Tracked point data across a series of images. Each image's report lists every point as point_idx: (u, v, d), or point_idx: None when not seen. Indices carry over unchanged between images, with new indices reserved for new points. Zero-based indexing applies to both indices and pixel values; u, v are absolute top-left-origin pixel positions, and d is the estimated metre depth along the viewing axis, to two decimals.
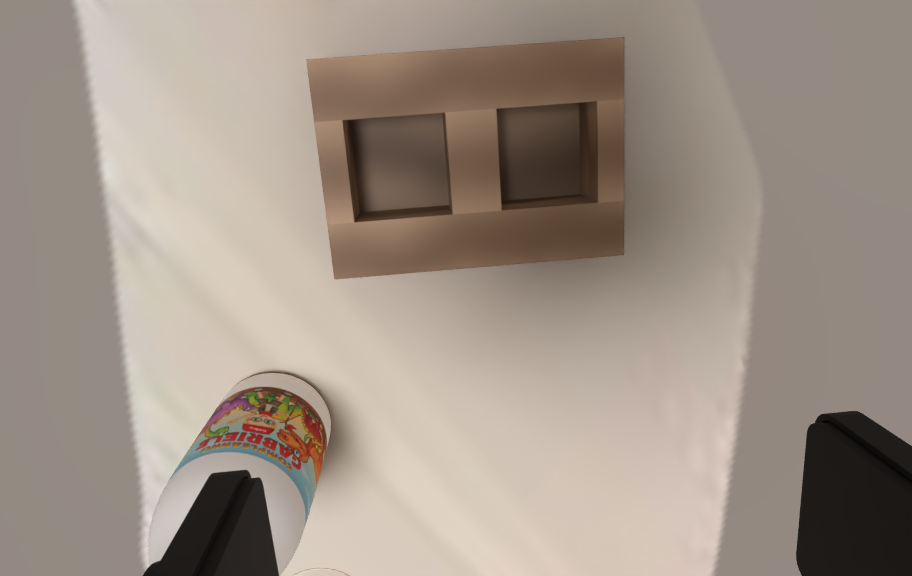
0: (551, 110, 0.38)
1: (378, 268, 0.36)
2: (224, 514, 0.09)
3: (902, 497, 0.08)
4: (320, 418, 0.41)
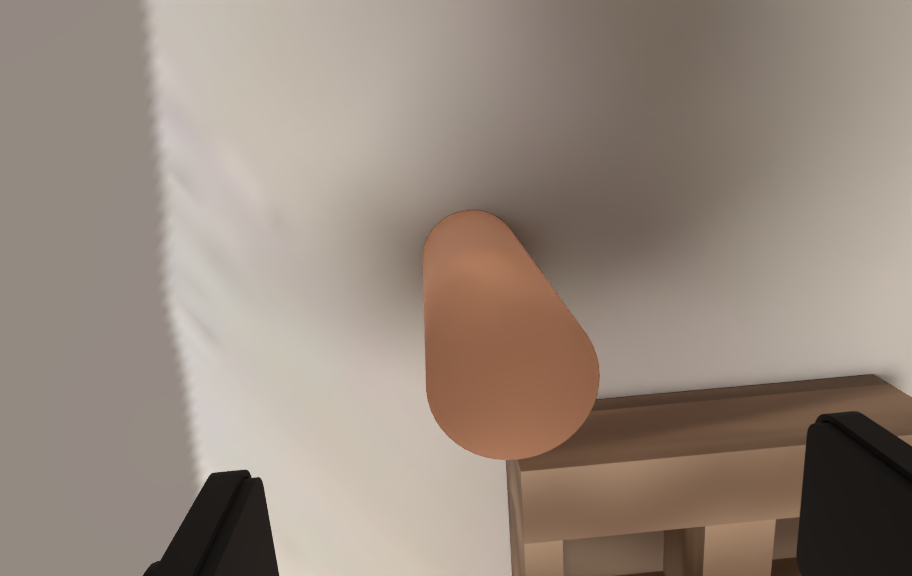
0: None
1: None
2: (224, 514, 0.09)
3: (902, 497, 0.08)
4: None
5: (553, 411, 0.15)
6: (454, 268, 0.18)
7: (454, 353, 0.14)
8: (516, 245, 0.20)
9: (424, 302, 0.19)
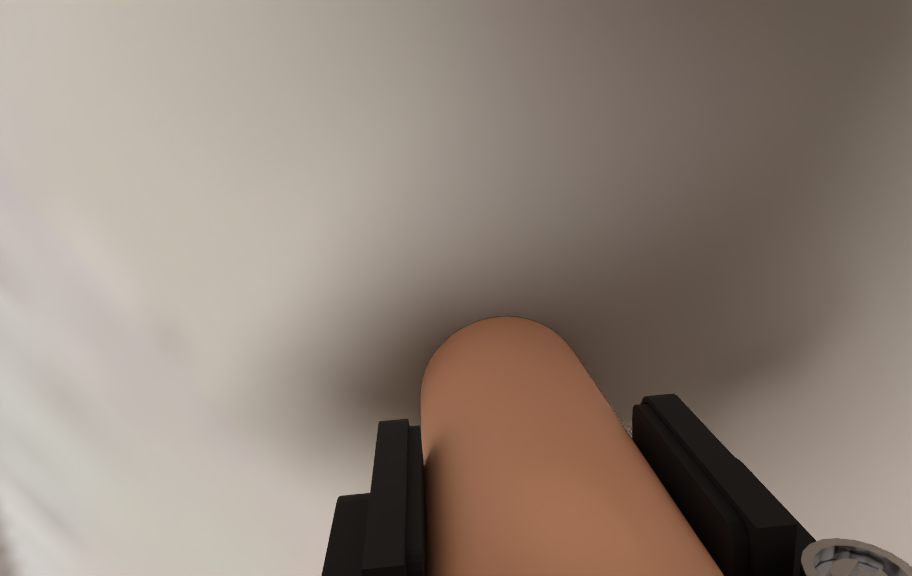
0: None
1: None
2: (406, 452, 0.10)
3: (679, 466, 0.09)
4: None
5: None
6: (501, 563, 0.07)
7: None
8: (617, 437, 0.10)
9: None
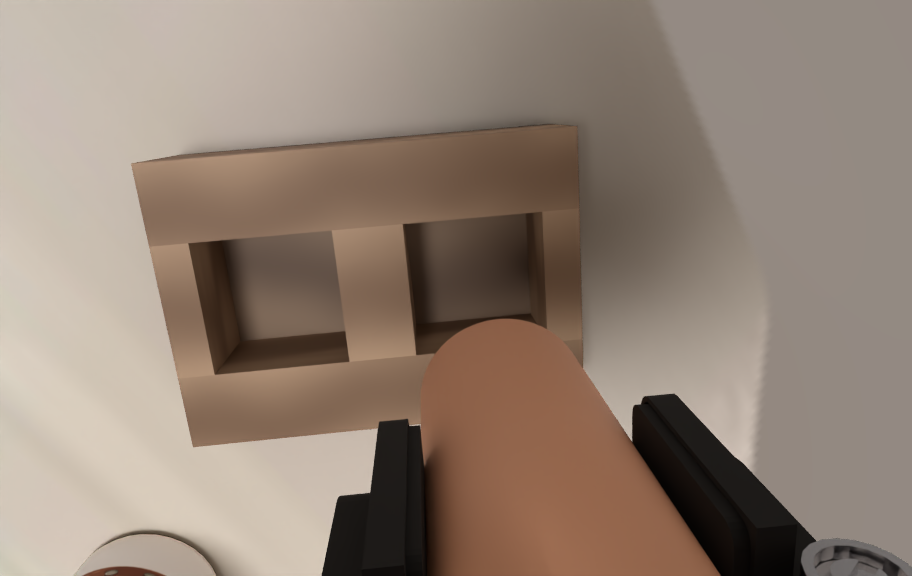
0: None
1: (252, 432, 0.27)
2: (407, 452, 0.10)
3: (679, 466, 0.09)
4: None
5: None
6: (500, 568, 0.07)
7: None
8: (616, 440, 0.10)
9: None
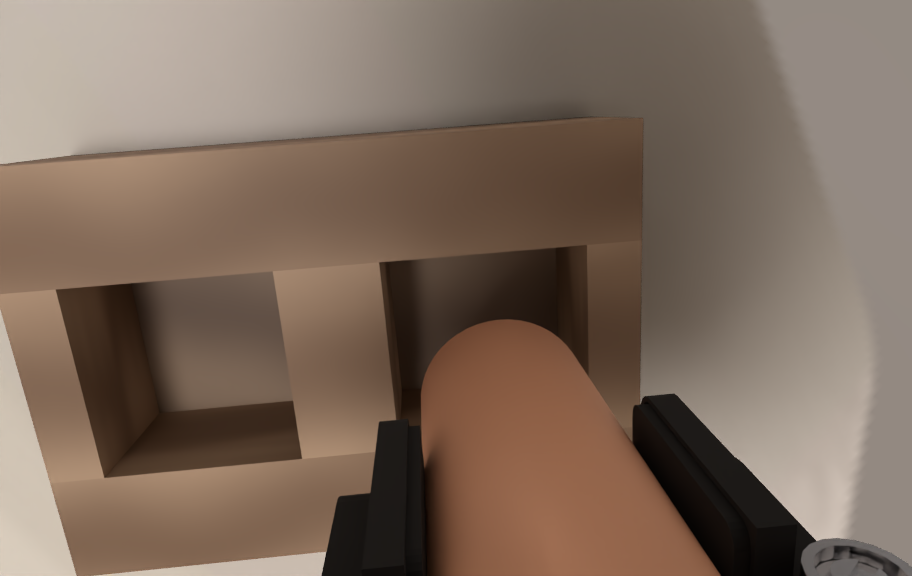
0: None
1: (163, 556, 0.19)
2: (407, 452, 0.10)
3: (679, 466, 0.09)
4: None
5: None
6: (502, 569, 0.07)
7: None
8: (617, 441, 0.10)
9: None
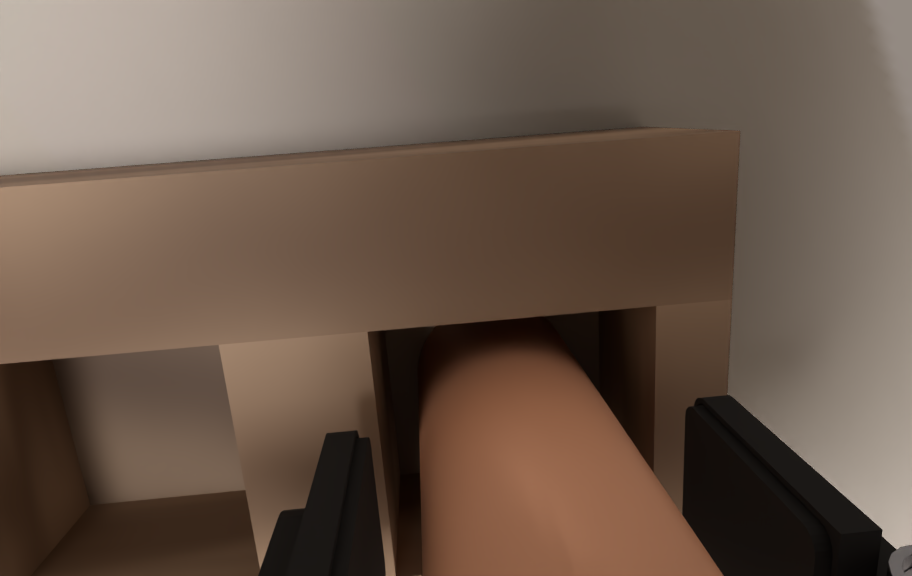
0: None
1: None
2: (349, 465, 0.10)
3: (744, 470, 0.09)
4: None
5: None
6: (484, 489, 0.08)
7: None
8: (588, 396, 0.11)
9: (422, 524, 0.10)
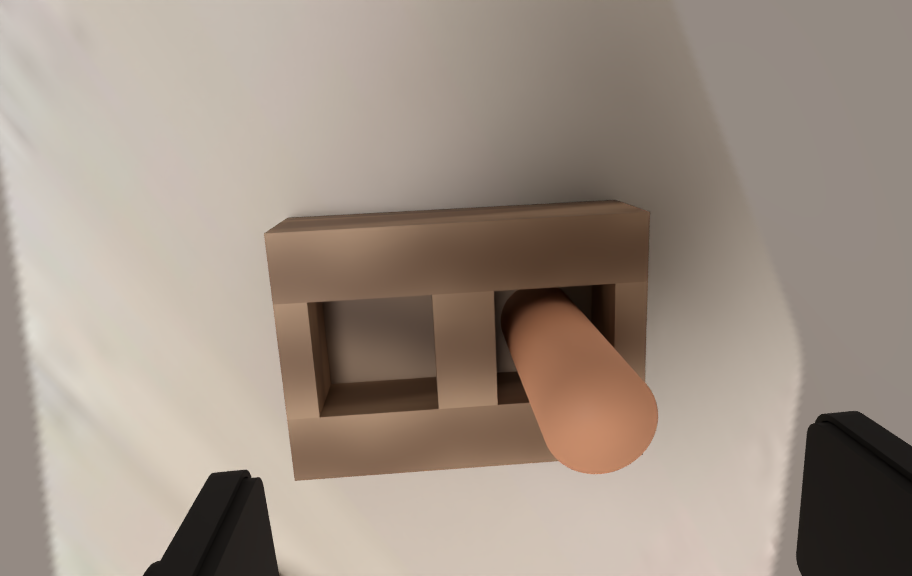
0: None
1: (348, 469, 0.30)
2: (224, 514, 0.09)
3: (902, 497, 0.08)
4: None
5: (626, 440, 0.21)
6: (546, 337, 0.25)
7: (561, 401, 0.21)
8: (584, 317, 0.27)
9: (519, 360, 0.26)
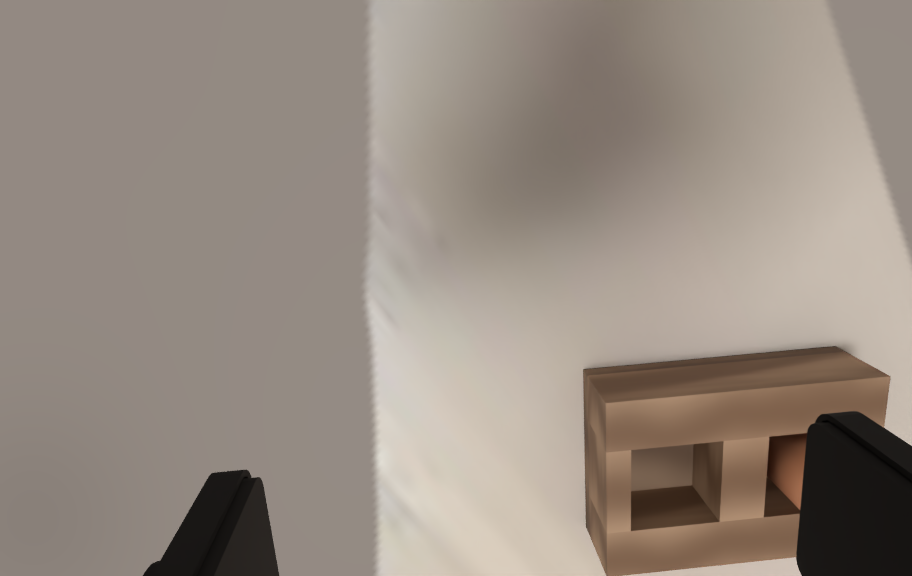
0: None
1: (647, 567, 0.39)
2: (224, 514, 0.09)
3: (902, 497, 0.08)
4: None
5: None
6: None
7: None
8: None
9: None
